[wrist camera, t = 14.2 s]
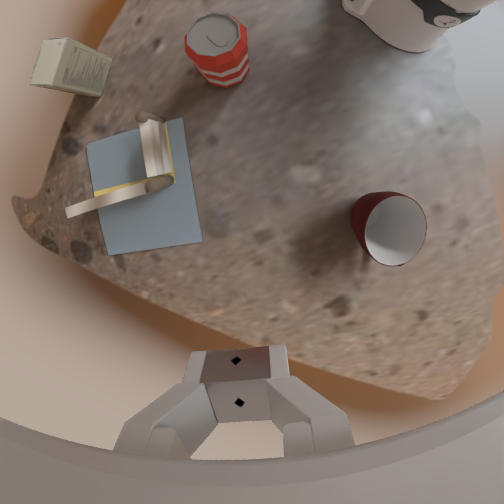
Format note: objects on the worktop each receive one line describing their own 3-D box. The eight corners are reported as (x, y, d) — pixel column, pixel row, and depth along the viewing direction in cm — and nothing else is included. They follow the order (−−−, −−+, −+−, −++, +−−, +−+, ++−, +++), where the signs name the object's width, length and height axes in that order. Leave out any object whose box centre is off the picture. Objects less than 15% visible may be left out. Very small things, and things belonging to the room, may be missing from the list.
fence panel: (160, 177, 37) (143, 181, 31) (163, 187, 37) (146, 193, 31) (88, 199, 38) (64, 208, 32) (90, 209, 38) (67, 218, 32)
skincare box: (91, 58, 32) (44, 36, 20) (114, 59, 32) (69, 34, 20) (78, 96, 34) (27, 85, 22) (100, 99, 34) (50, 86, 22)
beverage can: (223, 97, 34) (209, 73, 23) (192, 66, 33) (167, 34, 21) (259, 70, 33) (260, 35, 22) (228, 39, 31) (217, -2, 20)
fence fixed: (154, 118, 35) (134, 112, 28) (164, 116, 35) (146, 108, 28) (165, 186, 38) (147, 193, 31) (175, 184, 38) (158, 190, 31)
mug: (408, 230, 39) (444, 251, 30) (369, 264, 41) (396, 294, 32) (371, 172, 37) (404, 179, 27) (327, 209, 39) (349, 226, 29)
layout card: (87, 144, 36) (85, 144, 36) (182, 117, 35) (181, 117, 35) (109, 254, 41) (108, 255, 41) (203, 241, 40) (202, 242, 40)
